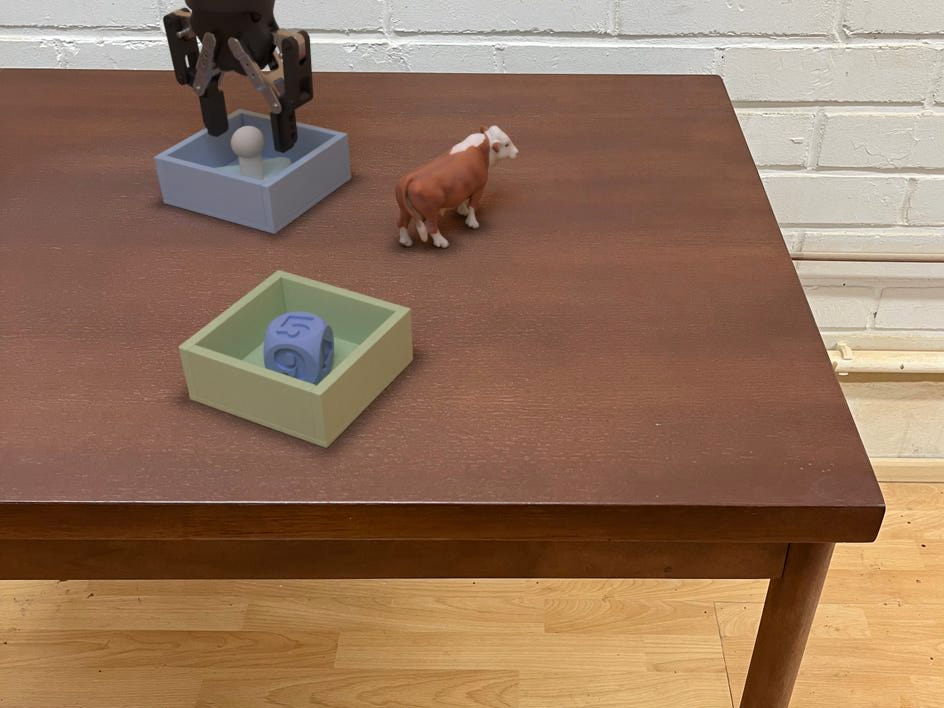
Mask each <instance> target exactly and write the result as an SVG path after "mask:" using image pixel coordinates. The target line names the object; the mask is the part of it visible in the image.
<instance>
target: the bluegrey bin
mask: <svg viewBox="0 0 944 708" xmlns="http://www.w3.org/2000/svg"><path fill="white" fill-rule="evenodd" d="M227 118H228V124H229V128H228V131H227V132H225V133H223V134H222V135H220V136H218V137H214V136H210V135H209V134H208V130H207V128H206V127H205V128H202V129H201V130H199V131H197V132H195V133H193V134H192V135H190V136H189V137H186V138H185V139H183V140H182V141H179V142H177V143H176V144H174V145H172V146H170V147H169V148H167V149H166V150H164V151H162V152H160V153H158V154H157V155H155V156H154V157H153V160H154V164H155V165H154V166H155V169H156V174H157V178H158V179H157V180H158V183H159V188H160V193H161V196H162V201H163V204H166V205H170V206H172V207H176V208H179V209H184V210H187V211H191V212H194V213H197V214H201V215H206V216H208V217H212V218H215V219H219V220H223V221H227V222H231V223H234V224H237V225H239V226H240V225H241V226H244V227H248V228H252V229H255V230H258V231H262V232H265V233H269V234H273V235H275V234H277V233H279V231H281V230H282V229H284V228H285V227H287V226H288V225H289V224H291V223H292V222H294V220H296V219H298V218H299V217H300V216H301V215H303V214H304V213H306V212H307V211H309V210H310V209H312V208H313V207H314V206H315V205H317V204H318V203H320V202H321V201H323V200H324V199H325V198H327V197H328V196H329V195H331V194H332V193H333V192H335V191H336V190H337V189H339V188H341V186H343V185H344V184H346V183H347V182H348V181H350V180H352V174H351V173H352V171H351V159H350V149H349V148H350V147H349V136H348V135H349V134H348V133H346V132H342V131H337V130H333V129H330V128H325V127H320V126H317V125H311V124H308V123H302V122H298V121H296V125H297V126H296V127H297V133H298V139H297V142H296V143H295V144H294V146H293V148H291V149H290V150H288V151H286V152H285V153H280V152H276V151H275V149H274V142H273V134H272V127H271V119H270V114H264V113H259V112H255V111H251V110H247V109H243V108H238V109H236V110H235V111H233V112H230V113H229V114H227ZM244 126H253V127H256V128H257V129H259V130H260V131H261V133H262V135H263V138H264V146H263V149H262V151H261V157H262V161H263V160H267V159H271V158H276V157H286V158H289V159H290V161H291V165H290V166H289V167H287V168H286V169H284V170H283V171H281V172H280V173H278V174H277V175H275V176H274V177H272V178H271V179H269V180H268V181H266V182H265V181H262V180H258V179H254V178H251V177H247V176H243V175H239V174H235V173H231V172H227V171H224V170H220V169H216V168H217V167H227V166H236V165H239V159H238V156H237V155H236V154H235V153H234V151H233V150H232V147H231V139H232V136H233V134H234V133H235V132H236V131H237V130H238V129H239V128H241V127H244Z"/></svg>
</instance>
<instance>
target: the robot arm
mask: <svg viewBox="0 0 944 708" xmlns="http://www.w3.org/2000/svg"><path fill="white" fill-rule="evenodd" d="M184 3H185V6H186V7H184V6H183V7H181V8H179V9H176V10H174V11H171V12H169V13H168V14H165V15H164V16H163V17H162V22H163V27H164V31H165V37H166V41H167V45H168V49H169V53H170V57H171V62H172V67H173V71H174V74H175V75H174V76H175V80H176V81H177V83H178V84H179V85H180V86H186V85H187V86H189V87H190V88H192V90H193V92H194V93H195V95H197V96H198V100H199V106H200V111H201V115H202V116H201V117H202V123H203V125H204V127H205V128H207V130H208V134H209V135H210V136H214V137H218V136H220V135H222V134H223V133H225V132H227V131H228V128H229V124H228V118H227V116H228V113H227V112H228V111H227V107H226V99H225V94H224V89H219V87H220V86H221V84H222V81H223V78H224V76H225V72H226V73H227V72H235V73H237V74H239V75H240V76H245V77H248V79H249V81H250V83H251V84H252V87H253V88H254V89H255V90H257V91H259V92H260V93H261V94H262V96H263V98H264V99H265V101H266V103H267V105H268V107H269V109H270V110H271V111H270V112H269V116H270V119H271V127H272V134H273V142H274V149H275V151H276V152H280V153H285V152H286V151H288V150H290V149H291V148H293V146H294V144H295V143H296V142H297V139H298V133H297V127H296V126H297V125H296V122H297V116H296V110H297V109H299V108H301V107H303V106H304V105H306V104H307V103H309V102H310V101H312V100H313V99H314V86H313V85H314V84H313V83H314V82H313V66H312V65H313V64H312V50H311V37H310V34H309V33H308V31H307V30H304V29H300V30H298V31H297V32H295V33H293V32H289V31H286V30H282V29H280V26H279V24H278V21H277V20H276V17H275V15H274V8H275V4H276V0H184ZM198 41H199V42H200V44H201V48H200V47H199V42H198ZM276 49H278V51H279V53H278V51H277V50H276ZM267 66H268V68H269V73H268V74H265V73H263V70H265V68H267Z"/></svg>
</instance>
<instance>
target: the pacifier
mask: <svg viewBox="0 0 944 708" xmlns="http://www.w3.org/2000/svg"><path fill="white" fill-rule="evenodd" d="M263 146H264V138H263V135H262V133H261V131H260V130H259V129H257V128H256V127H253V126H244V127H241V128H239V129H238V130H237V131H236V132H235V133H234V134H233V136H232V139H231V147H232V150H233V151H234V153H235V154H236V155H237V156H238V159H239V165H236V166H227V167H217V168H216V169H220V170H224V171H227V172H231V173H235V174H239V175H243V176H247V177H251V178H254V179H258V180H262V181H265V182H266V181H268V180H269V179H271V178H272V177H274V176H275V175H277V174H278V173H280V172H281V171H283V170H284V169H286V168H287V167H289V166H290V165H291V161H290V159H289V158H286V157H276V158H271V159H267V160H263V161H262V157H261V151H262V149H263Z"/></svg>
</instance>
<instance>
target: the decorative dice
mask: <svg viewBox="0 0 944 708" xmlns="http://www.w3.org/2000/svg"><path fill="white" fill-rule="evenodd" d="M263 355H264V364H265V368H266V369H269V370H272V371H275V372H278V373H281V374H284V375H287V376H290V377H293V378H296V379H299V380H302V381H305V382H308V383H311V384H314V385H318V384H319V383H320V382H321V381H322V380H323V379H324V378H325V377H326V376H327V375H329V374H330V371H331V368H332V363H333V356H334V337H333V332H332V329H331V327H330V326H329V325H328V324H327V323H326V322H325V321H324V320H323V319H322V318H320V317H319V316H317V315H315V314H312V313H308V312H291V313H286V314H283V315H281V316H279V317H277V318H275V319H274V320H273V321H272V322H271V323H270V324H269V326H268V328H267V331H266V334H265V339H264V350H263Z"/></svg>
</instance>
